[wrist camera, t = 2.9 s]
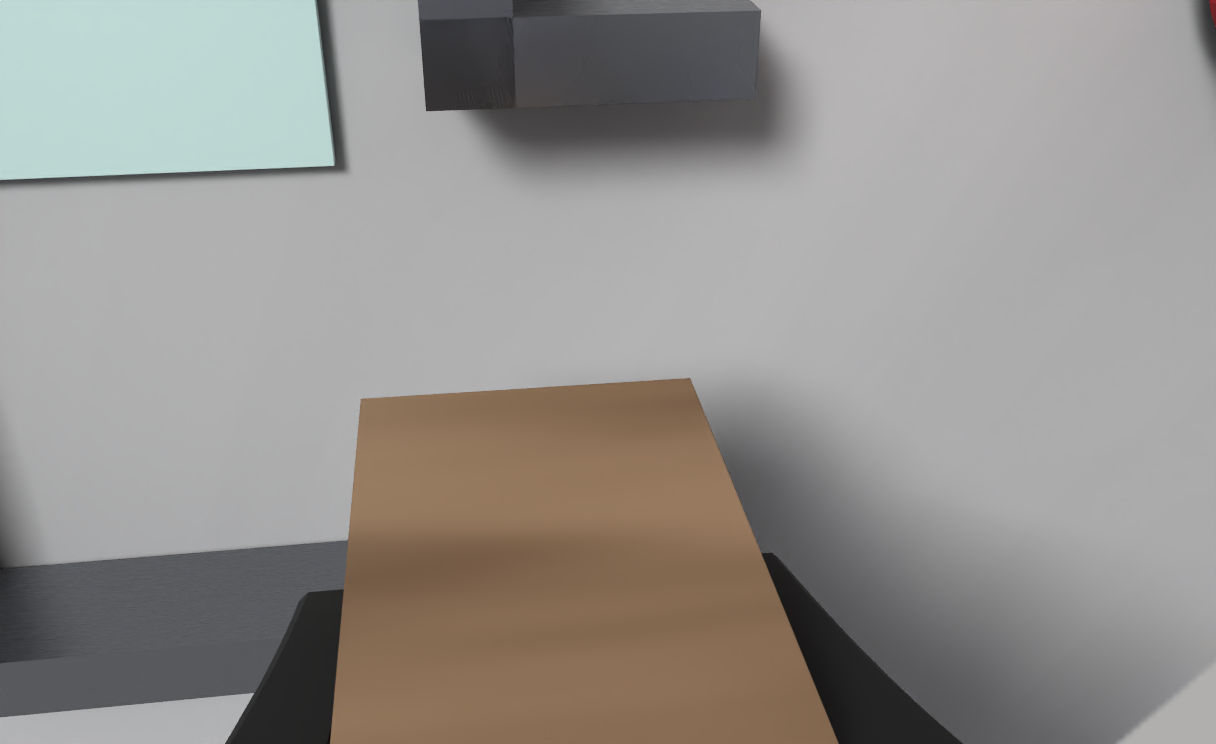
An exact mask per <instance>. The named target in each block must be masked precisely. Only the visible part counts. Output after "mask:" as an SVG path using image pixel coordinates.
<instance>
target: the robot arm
mask: <svg viewBox="0 0 1216 744" xmlns="http://www.w3.org/2000/svg"><path fill="white" fill-rule="evenodd" d="M762 557H763V559H764V561H765V564H766V566H767V569H768V571H769V574H770V576H771V579H772V581H773V584H774V586H775V589H776V591H777V593H778V596H779V598H780V601H781V603H782V606H783V608H784V611H785V613H786V616H787V618H788V620H789V623H790V625H791V628H792V630H793V633H794V635H795V638H796V640H797V643H798V645H799V648H800V650H801V652H802V655H803V657H804V660H805V662H806V665H807V667H808V670H809V672H810V675H811V677H812V680H813V682H814V684H815V687H816V689H817V692H818V694H819V697H820V699H821V702H822V704H823V707H824V709H825V712H826V714H827V716H828V719H829V721H830V724H831V726H832V729H833V731H834V734H835V736H836V739H837V741H838V744H963V743H961V742H960V741H959V740H958V739H957V738H956V737H954V736H953V735H952V734H951V733H950V732H948V731H947V730H946V729H945V728H944V727H943V726H942V725H941V724H939V723H938V722H937V721H936V720H935V719H934V718H933V717H932V716H930V715H929V714H928V713H927V712H926V711H925V710H924V709H923V708H922V707H920V706H919V705H918V704H917V703H916V702H915V701H914V700H913V699H912V698H911V697H910V696H909V695H907V694H906V693H905V692H904V691H903V690H902V689H901V688H900V687H899V686H898V685H897V684H896V683H895V682H894V681H893V680H892V679H891V678H890V677H889V676H888V675H887V674H886V673H885V672H884V671H883V670H882V669H881V668H880V667H879V666H878V665H877V664H876V663H875V662H874V661H873V660H872V659H871V658H870V657H869V656H868V655H867V654H866V653H865V652H864V651H863V650H862V649H861V648H860V647H859V646H858V645H857V644H856V643H855V642H854V641H853V640H852V639H851V638H850V637H849V636H848V635H847V634H846V633H845V632H844V631H843V630H842V628H841V627H840V626H839V625H838V624H837V623H836V622H835V621H834V620H833V619H832V618H831V617H830V615H829V614H828V613H827V612H826V611H825V610H824V609H823V608H822V607H821V606H820V605H819V603H818V602H817V601H816V600H815V599H814V598H813V597H812V596H811V595H810V593H809V592H808V591H807V590H806V589H805V588H804V587H803V586H802V584H801V583H800V582H799V581H798V580H797V579H796V578H795V576H794V575H793V574H792V573H791V572H790V571H789V570H788V568H787V567H786V566H785V565H784V564H783V563H782V562H781V560H780V559H778V558H777V557H776V556H775V555H774V554H773V553H762ZM343 594H344V589H339V590H328V591H316V592H308V593H307V594H306V595H305V596H304V597H303V598H302V599H301V600H300V601H299V602H298V605H297V607H296V610H295V612H294V615H293V617H292V619H291V622H290V624H289V626H288V628H287V631H286V633H285V635H284V637H283V639H282V641H281V643H280V645H279V647H278V650H277V652H276V654H275V656H274V658H273V659H272V661H271V663H270V665H269V667H268V669H267V671H266V673H265V675H264V677H263V679H262V681H261V682H260V684H259V686H258V688H257V690H256V691H255V693H254V695H253V697H252V698H251V700H250V702H249V704H248V705H247V707H246V709H245V710H244V712H243V714H242V716H241V717H240V719H239V721H238V723H237V724H236V726H235V728H234V730H233V731H232V733H231V735H230V736H229V738H228V740H227V741H226V743H225V744H330V739H331V728H332V716H333V705H334V694H335V683H336V672H337V661H338V650H339V638H340V627H341V616H342V605H343Z"/></svg>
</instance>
